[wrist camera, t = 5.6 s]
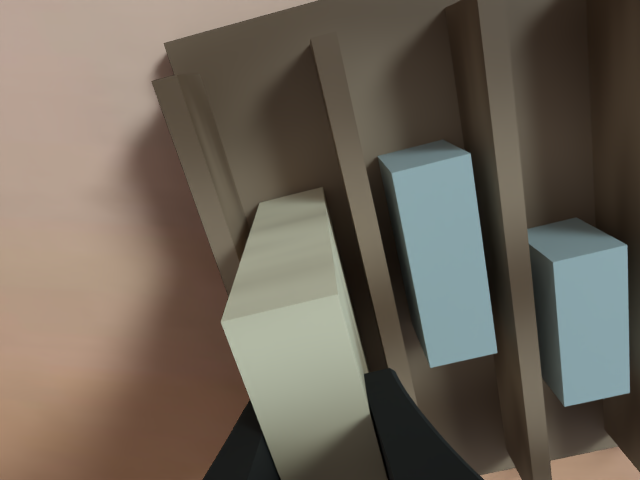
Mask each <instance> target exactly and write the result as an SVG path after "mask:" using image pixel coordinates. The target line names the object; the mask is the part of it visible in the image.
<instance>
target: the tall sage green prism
mask: <svg viewBox="0 0 640 480" xmlns="http://www.w3.org/2000/svg"><path fill="white" fill-rule="evenodd" d="M221 324H222V327H223V329H224V332H225V335H226V337H227V340H228V342H229V345H230V348H231V350H232V353H233V356H234V358H235V361H236V363H237V366H238V369H239V371H240V374H241V377H242V379H243V382H244V384H245V387H246V390H247V392H248V395H249V398H250V400H251V403H252V405H253V408H254V411H255V413H256V416H257V419H258V421H259V424H260V426H261V429H262V432H263V434H264V437H265V440H266V442H267V445H268V447H269V450H270V453H271V455H272V458H273V461H274V463H275V466H276V468H277V471H278V474H279V476H280V479H281V480H389V478H388V474H387V471H386V467H385V463H384V459H383V455H382V452H381V448H380V444H379V440H378V436H377V433H376V429H375V425H374V421H373V417H372V414H371V410H370V406H369V402H368V398H367V393H366V387H365V380H364V374H365V373H370V370H369V366H368V362H367V358H366V354H365V350H364V346H363V342H362V338H361V335H360V331H359V327H358V323H357V319H356V315H355V311H354V307H353V303H352V299H351V295H350V292H349V288H348V284H347V280H346V276H345V272H344V268H343V264H342V260H341V256H340V252H339V249H338V245H337V241H336V237H335V233H334V229H333V225H332V221H331V217H330V213H329V209H328V206H327V202H326V198H325V194H324V190H323V187H320V188H316V189H312V190H308V191H304V192H300V193H296V194H292V195H288V196H284V197H280V198H276V199H272V200H268V201H264V202H260V203H259V206H258V209H257V212H256V215H255V219H254V222H253V225H252V228H251V231H250V234H249V237H248V240H247V243H246V246H245V249H244V252H243V255H242V258H241V261H240V264H239V268H238V271H237V274H236V277H235V280H234V283H233V286H232V289H231V292H230V295H229V298H228V301H227V304H226V307H225V310H224V313H223V317H222V320H221Z"/></svg>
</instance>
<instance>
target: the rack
mask: <svg viewBox="0 0 640 480" xmlns="http://www.w3.org/2000/svg"><path fill="white" fill-rule="evenodd" d="M164 46H165V49H166V52H167V55H168V58H169V61H170V63H171V66H172V69H173V72H174V75H173V76H169V77H165V78H162V79H158V80H154V81H152V84H153V87H154V90H155V92H156V95H157V98H158V101H159V104H160V106H161V109H162V112H163V115H164V118H165V120H166V123H167V126H168V129H169V132H170V134H171V137H172V140H173V143H174V146H175V148H176V151H177V154H178V157H179V160H180V162H181V165H182V168H183V171H184V174H185V176H186V179H187V182H188V185H189V187H190V190H191V193H192V196H193V199H194V201H195V204H196V207H197V210H198V213H199V215H200V218H201V221H202V224H203V227H204V229H205V232H206V235H207V238H208V241H209V243H210V246H211V249H212V252H213V255H214V257H215V260H216V263H217V266H218V269H219V271H220V274H221V277H222V280H223V283H224V285H225V288H226V291H227V294H228V297H229V295H230V292H231V289H232V286H233V283H234V280H235V277H236V274H237V271H238V268H239V264H240V261H241V258H242V255H243V252H244V249H245V246H246V243H247V240H248V237H249V234H250V231H251V228H252V225H253V222H254V219H255V215H256V212H257V209H258V206H259V203H260V202H264V201H268V200H272V199H276V198H280V197H284V196H288V195H292V194H296V193H300V192H304V191H308V190H312V189H316V188H320V187H323V190H324V194H325V198H326V202H327V206H328V209H329V213H330V217H331V221H332V225H333V229H334V233H335V237H336V241H337V245H338V249H339V252H340V256H341V260H342V264H343V268H344V272H345V276H346V280H347V284H348V288H349V292H350V295H351V299H352V303H353V307H354V311H355V315H356V319H357V323H358V327H359V331H360V335H361V338H362V342H363V346H364V350H365V354H366V358H367V362H368V366H369V370H370V372H374V371H378V370H383V369H387V368H391V369H393V370H394V371H396V373H397V376H398V378H399V379H400V381H401V383H402V385H403V386H404V388H405V390H406V391H407V393H408V394H409V395H410V397H411V398H412V400H413V401H414V402H415V404H416V405H417V407H418V408H419V409H420V410H421V412H422V413H423V414H424V416H425V417H426V418H427V419H428V420H429V422H430V423H431V424H432V425H433V426H434V428H435V429H436V430H437V431H438V432H439V434H440V435H441V436H442V437H443V438H444V439H445V440H446V441H447V442H448V444H449V445H450V446H451V447H452V448H453V449H454V450H455V451H456V452H457V453H458V454H459V455H460V456H461V457H462V458H463V459H464V460H465V462H467V463H468V464H469V465H470V466H471V467H472V468H473V469H474V470H475V471H476V472H477V473H478V474H479V475H483V474H488V473H493V472H498V471H503V470H507V469H512V468H516V469H517V471H518V473H519V475H520V477H521V479H522V480H552V476H551V466H550V461H551V460H555V459H560V458H565V457H570V456H575V455H579V454H584V453H589V452H594V451H599V450H603V449H608V448H613V447H619V448H620V449H621V450H622V451H623V453H624V454H625V455H626V456H627V457H628V459H629V460H630V461H631V462H632V463H633V465H634V466H635V467H636V468H637V469H638V471H639V472H640V0H318V1H315V2H311V3H307V4H304V5H300V6H297V7H293V8H289V9H286V10H282V11H278V12H275V13H271V14H268V15H264V16H260V17H257V18H253V19H249V20H246V21H242V22H239V23H235V24H231V25H228V26H224V27H220V28H217V29H213V30H210V31H206V32H202V33H199V34H195V35H192V36H188V37H184V38H181V39H177V40H173V41H170V42H166V43H164ZM439 140H445V141H447V142H449V143H451V144H453V145H455V146H457V147H459V148H461V149H463V150H465V151H467V152H469V153H471V160H472V168H473V175H474V182H475V190H476V197H477V205H478V212H479V219H480V227H481V234H482V242H483V249H484V256H485V264H486V271H487V278H488V286H489V293H490V301H491V308H492V315H493V323H494V330H495V338H496V345H497V352H498V353H495V354H491V355H486V356H482V357H477V358H473V359H468V360H464V361H459V362H455V363H450V364H446V365H442V366H437V367H433V368H430V366H429V364H428V361H427V359H426V357H425V354H424V352H423V349H422V347H421V344H420V342H419V340H418V337H417V335H416V332H415V330H414V328H413V325H412V321H411V317H410V312H409V307H408V302H407V297H406V292H405V287H404V283H403V278H402V273H401V268H400V263H399V258H398V253H397V249H396V244H395V239H394V234H393V229H392V224H391V220H390V215H389V210H388V205H387V200H386V195H385V190H384V186H383V181H382V176H381V171H380V166H379V161H378V157H377V156H380V155H384V154H387V153H391V152H395V151H399V150H403V149H407V148H411V147H415V146H419V145H423V144H427V143H431V142H435V141H439ZM576 217H577V218H578V219H580V220H582V221H584V222H586V223H588V224H590V225H591V226H593V227H595V228H597V229H599V230H601V231H603V232H604V233H606V234H608V235H610V236H612V237H614V238H616V239H617V240H619V241H621V242H623V243H625V244H627V252H628V309H629V366H630V393H627V394H622V395H618V396H613V397H608V398H604V399H599V400H594V401H590V402H585V403H580V404H576V405H571V406H566V407H564V406H563V404H562V403H561V402H560V400H559V399H558V398H557V396H556V395H555V394H554V393H553V391H552V390H551V389H550V387H549V386H548V385H547V383H546V382H545V381H544V380H543V378H542V374H541V364H540V354H539V344H538V333H537V323H536V313H535V303H534V292H533V282H532V272H531V262H530V252H529V241H528V231H527V229H530V228H534V227H538V226H542V225H546V224H550V223H555V222H559V221H563V220H567V219H571V218H576Z"/></svg>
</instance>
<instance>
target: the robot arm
mask: <svg viewBox="0 0 640 480" xmlns="http://www.w3.org/2000/svg"><path fill="white" fill-rule="evenodd" d="M364 380H365V387H366V393H367V398H368V402H369V406H370V410H371V414H372V417H373V421H374V425H375V429H376V433H377V436H378V440H379V444H380V448H381V452H382V455H383V459H384V463H385V467H386V471H387V474H388V478H389V480H484V479H483V478H482V477H481V476H480V475H479V474H478V473H477V472H476V471H475V470H474V469H473V468H472V467H471V466H470V465H469V464H468V463H467V462H465V460H464V459H463V458H462V457H461V456H460V455H459V454H458V453H457V452H456V451H455V450H454V449H453V448H452V447H451V446H450V445H449V444H448V442H447V441H446V440H445V439H444V438H443V437H442V436H441V435H440V434H439V432H438V431H437V430H436V429H435V428H434V426H433V425H432V424H431V423H430V422H429V420H428V419H427V418H426V417H425V416H424V414H423V413H422V412H421V410H420V409H419V408H418V407H417V405H416V404H415V402H414V401H413V400H412V398H411V397H410V395H409V394H408V393H407V391H406V390H405V388H404V386H403V385H402V383H401V381H400V379H399V378H398V376H397V373H396V371H394V370H393V369H391V368H387V369H383V370H378V371H374V372H370V373H365V374H364ZM203 480H281V479H280V476H279V474H278V471H277V468H276V466H275V463H274V461H273V458H272V455H271V453H270V450H269V447H268V445H267V442H266V440H265V437H264V434H263V432H262V429H261V426H260V424H259V421H258V419H257V416H256V413H255V411H254V408H253V405H252V403H251V400H250V401H249V402H248V404H247V405H246V407H245V409H244V410H243V412H242V414H241V416H240V417H239V419H238V421H237V423H236V424H235V426H234V428H233V430H232V431H231V433H230V435H229V437H228V438H227V440H226V442H225V444H224V445H223V447H222V449H221V450H220V452H219V454H218V455H217V457H216V459H215V460H214V462H213V463H212V465H211V467H210V468H209V470H208V472H207V473H206V475H205V477H204V478H203Z"/></svg>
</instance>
